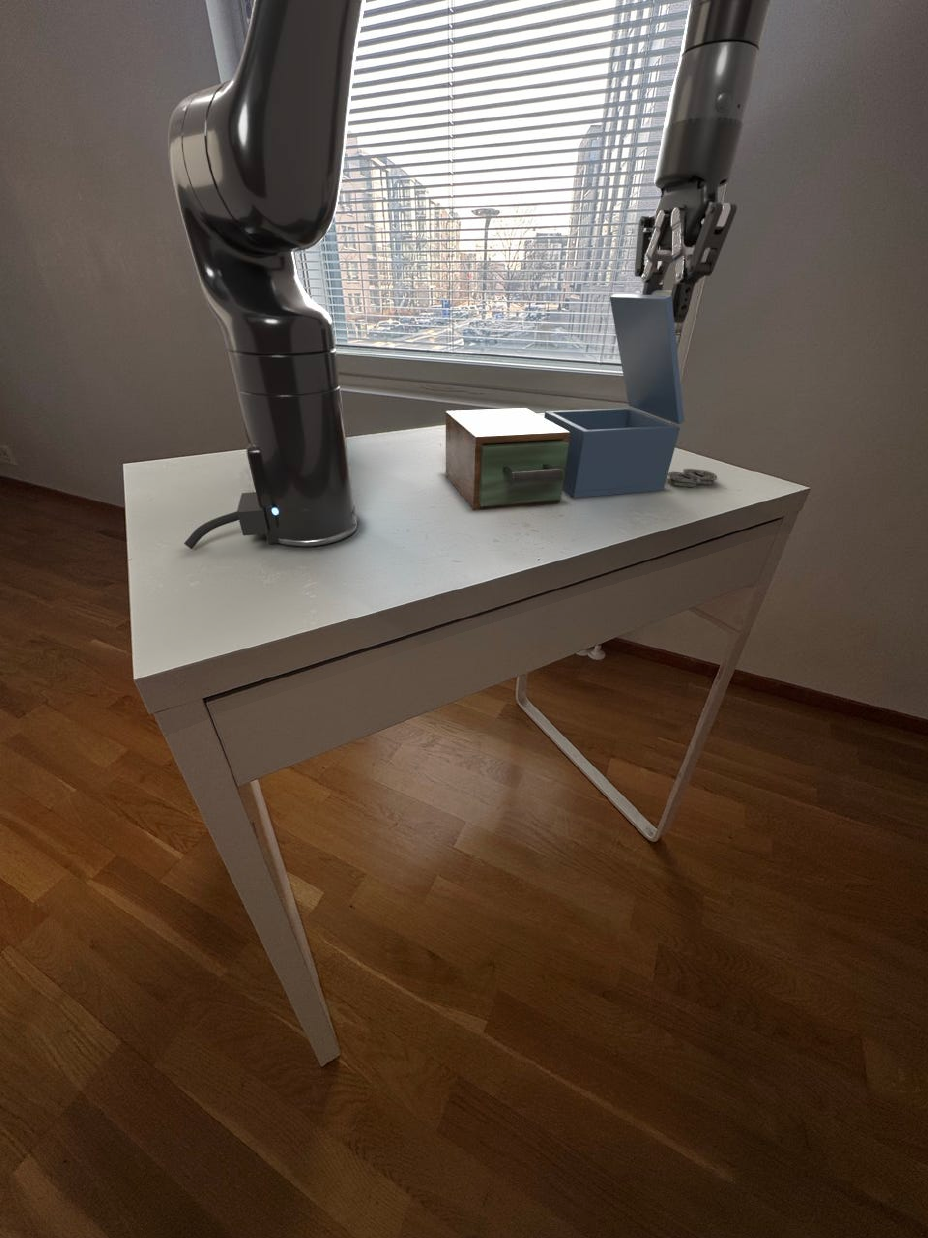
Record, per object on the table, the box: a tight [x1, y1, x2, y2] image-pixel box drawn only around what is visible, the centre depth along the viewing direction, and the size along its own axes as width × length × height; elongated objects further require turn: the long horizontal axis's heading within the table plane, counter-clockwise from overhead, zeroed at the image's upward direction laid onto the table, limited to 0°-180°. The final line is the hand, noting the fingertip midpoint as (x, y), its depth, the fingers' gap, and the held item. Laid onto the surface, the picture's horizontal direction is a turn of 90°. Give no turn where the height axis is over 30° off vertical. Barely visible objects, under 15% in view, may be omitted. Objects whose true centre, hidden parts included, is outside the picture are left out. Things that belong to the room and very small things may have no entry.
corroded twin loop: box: [667, 468, 718, 488], centre depth 67 cm, size 5×8×1 cm, turn 117°
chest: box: [543, 407, 681, 499], centre depth 65 cm, size 14×12×8 cm
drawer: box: [478, 440, 569, 506], centre depth 59 cm, size 16×10×7 cm, turn 16°
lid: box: [609, 289, 685, 425], centre depth 60 cm, size 14×12×5 cm
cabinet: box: [445, 407, 570, 511], centre depth 62 cm, size 14×12×9 cm
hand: (660, 320), depth 58 cm, fingers closed on lid, 5 cm apart
